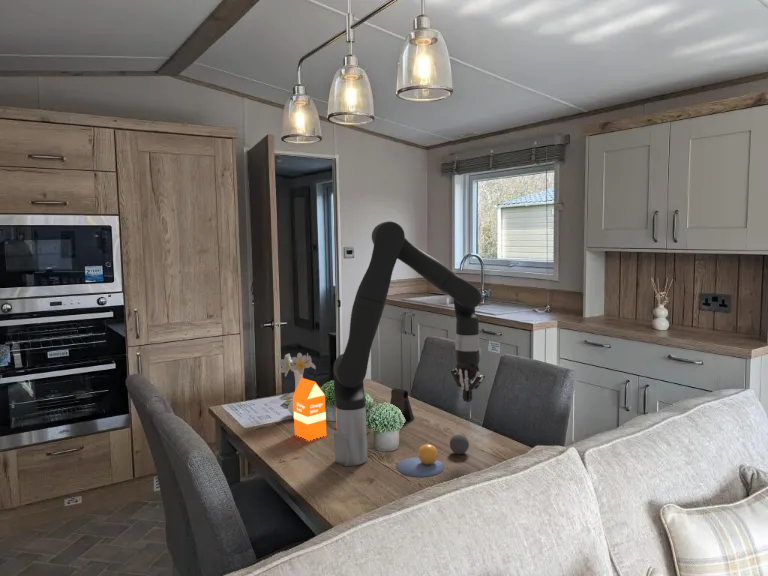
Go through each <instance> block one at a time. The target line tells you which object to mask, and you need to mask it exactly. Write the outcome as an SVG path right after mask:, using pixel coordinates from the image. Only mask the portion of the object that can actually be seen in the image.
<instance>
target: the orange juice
mask: <svg viewBox="0 0 768 576" xmlns="http://www.w3.org/2000/svg"><path fill="white" fill-rule="evenodd" d="M292 400H293V404H294V417H293V420H294V421H293V425H294V426H293V427H294V435H295V436H296V435H297V436H296V437H298V436H299V437H298V438H300V437H302V438H304V439H306V440H305V441H307V440H308V441H307V442H311V441H314V440H313V439H315V440H317V439H316V438H318V439H321V438H324V437H327V413H326V394H325V393H324V392H323V390H322V389H321V388H320V386H319V385H318V384H317V382H316V381H314V380H310V379H307V378H304V377H303V378H302V379H301V381H300V383H299V385H298V387H297V389H296V391H295V390H294V392H293V395H292ZM323 436H324V437H323ZM320 437H321V438H320ZM302 438H301V439H302ZM304 439H303V440H304ZM310 440H311V441H310Z"/></svg>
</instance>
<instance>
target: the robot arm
mask: <svg viewBox="0 0 768 576" xmlns="http://www.w3.org/2000/svg"><path fill="white" fill-rule="evenodd" d="M371 241H372V243H373V249H372V253H371V258H370V262H369V265H368V268H367V269H366V271H365V273H364V275H363V277H362V280H361V281H360V283H359V286H358V288H357V291H356V294H355V297H354V300H353V305H352V307H351V308H352V309H351V315H350V322H349V333H348V334H349V335H348V340H347V343H346V346H345V349H344V352H343V353H342V354H340V355H338V356H337V357H336V359H335V360H334V363H333V367H332V369H333V391H334V392H333V393H334V399H335V401H334V402H335V419H336V420H335V423H336V425H335V427H336V430H334V431H333V441H334V443H333V445H334V461H335V462H337V463H338V464H340V465H342V466H345V467H350V466H359V465H363V464H365V463H366V462H367V461H368V438H367V437H368V436H367V408H366V394H365V387H364V379H366V376H367V372H368V365H369V360H370V359H369V358H370V353H371V350H372V345H373V343H374V339H375V336H376V333H377V331H378V327H379V324H380V321H381V319H382V315H383V313H384V309H385V306H386V302H387V298H388V293H389V290H390V285H391V281H392V280H391V279H392V275H393V272H394V268H395V266H396V263H397V260H398V261H399V260H400V262H402V263H404V264H405V265H407V266H408V267H409V268H411V269H412V270H413V271H415V272H416V273H417V274H418V275H420V276H421V277H422V278H424V279H425V280H426V282H429V283H430V284H431V285H433V286H434V287H436V288H437V289H438V290H440V291H441V292H442V293H445V294H448V295H449V296H450V297H452V299H453V306H454V313H455V318H456V321H455V322H456V323H455V324H456V325H455V326H456V327H455V329H456V331H455V332H456V334H455V363H456V365H455V366H456V367H455V368H454V369H451V370H450V373H451V376H452V377H453V379H454V382H455V383H456V385H457V387H460V388H461V389H462V400H463V402H466V403H470V402H472V400H473V390H477V389H478V388H479V387H480V385H481V384H482V383H483V381H484V380H485V378H486V376H485V375H484V374H481V373H480V369H479V363H480V335H479V334H480V333H479V328H480V326H479V317H478V316H477V315H476V307H478V306H479V305H480V303H481V301H482V294H481V291H480V290H479V289H478V288H477V287H476V286H475V285H474V284H472V283H470V282H468V280H465V279H463V278H462V277H461V276H459V275H458V274H456V273H455V272H454V271H453V270H451V268H449V267H448V266H446V265H445V264H443V263H442V262H441V261H439V260H438V259H436V258H434V257H433V256H432V255H429V254H427V252H424V251H423V250H421V249H419V247H417V246H415V245H414V244H413V243H411V242H410V241H409V240H408V239H407V238H406V236H405V231H404V229H403V227H402V226H401V224H400V223H398V222H396V221H391V220H390V221H387V220H386V221H383V222H381V223H379V224H377V225H376V226H375V227H374V228H373V230H372V232H371Z"/></svg>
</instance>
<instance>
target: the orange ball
mask: <svg viewBox="0 0 768 576" xmlns="http://www.w3.org/2000/svg"><path fill="white" fill-rule="evenodd" d="M417 457H419V460H420V461H421V462H422V463H423V464H426V465H431V464H433V463H434V462H435V461H436V460H438V457H439V452H438V450H437V448H436V446H434V445H433V444H429V443H426V444H423V445H422V446H420V448H419V449H418V451H417Z"/></svg>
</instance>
